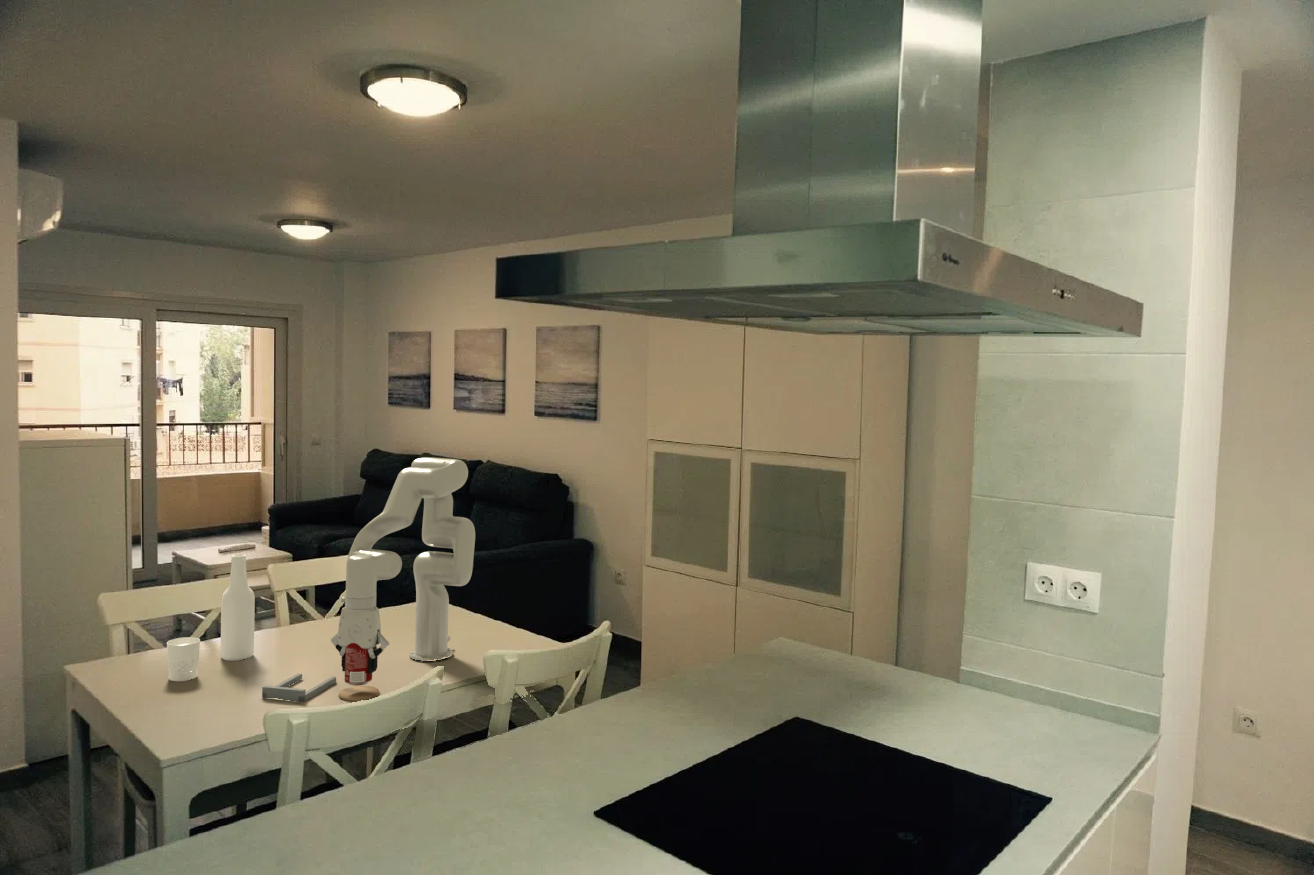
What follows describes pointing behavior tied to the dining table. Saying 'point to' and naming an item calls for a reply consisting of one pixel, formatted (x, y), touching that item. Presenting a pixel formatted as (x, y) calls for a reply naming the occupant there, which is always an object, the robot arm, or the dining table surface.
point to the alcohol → (237, 614)
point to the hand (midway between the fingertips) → (359, 670)
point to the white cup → (183, 658)
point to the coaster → (358, 693)
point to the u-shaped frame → (294, 689)
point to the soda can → (356, 665)
